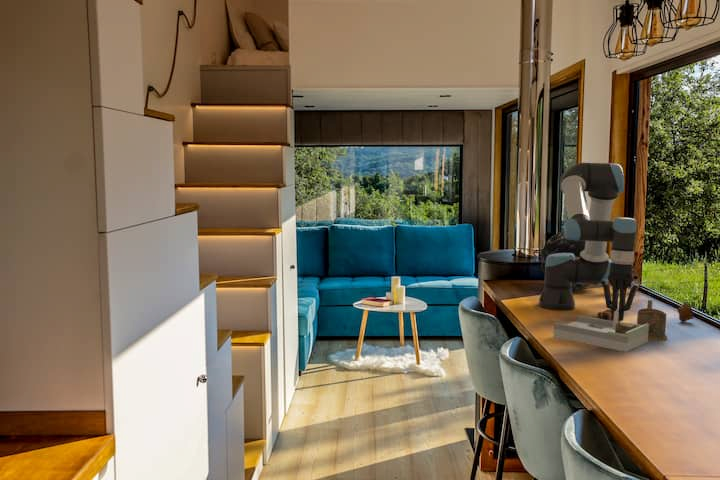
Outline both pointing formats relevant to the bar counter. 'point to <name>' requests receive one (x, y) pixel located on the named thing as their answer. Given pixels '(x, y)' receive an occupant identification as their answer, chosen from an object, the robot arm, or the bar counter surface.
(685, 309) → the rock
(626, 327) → the block
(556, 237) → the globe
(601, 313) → the figurine
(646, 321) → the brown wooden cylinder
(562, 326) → the grey rectangular tray
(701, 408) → the bar counter surface
